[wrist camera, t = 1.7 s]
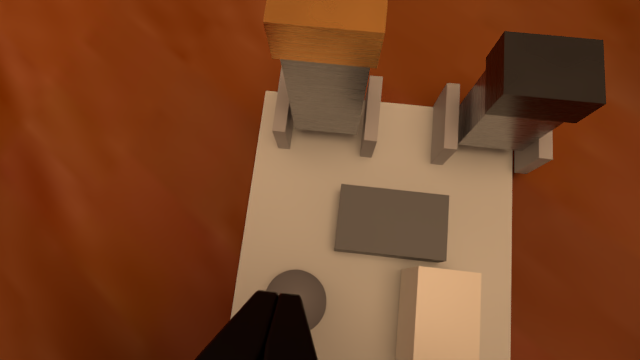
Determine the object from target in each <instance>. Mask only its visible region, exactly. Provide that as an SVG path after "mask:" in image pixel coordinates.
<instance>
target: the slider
mask: <svg viewBox="0 0 640 360" xmlns="http://www.w3.org/2000/svg"><path fill="white" fill-rule="evenodd" d="M480 312H481V273H475V272H467V271H458V270H449V269H440V268H432V267H423V266H416V267H411V268H406V269H401V282H400V297H399V312H398V326H397V341H396V355H395V359H396V360H479V350H480Z"/></svg>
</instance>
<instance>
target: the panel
mask: <svg viewBox="0 0 640 360" xmlns="http://www.w3.org/2000/svg"><path fill="white" fill-rule="evenodd" d="M382 80H383V77H379V76H370V78H369V83H368V88H367V93H366V98H365V100H364V101H363V106H362V111H361V116H360V121H359V126H358V131H357V135H352V134H342V133H332V132H322V131H312V130H302V129H295V127H294V122H293V117H292V112H291V108H290V103H289V98H288V93H287V89H286V84H285V79H284V75H283V70H282V67H281V73H280V80H279V87H278V92H274V91H266V93H265V100H264V106H263V113H262V119H261V125H260V132H259V138H258V145H257V151H256V158H255V164H254V171H253V177H252V184H251V190H250V196H249V203H248V209H247V216H246V222H245V229H244V235H243V242H242V248H241V255H240V261H239V268H238V274H237V280H236V287H235V293H234V300H233V306H232V313H231V319H232V317H233V316H234V315H235V314H236V313H237V312H238V311H239V310H240V309H241V307H242V306H243V305H244V304H245V303H246V302H247V301H248V300H249V299H250V297H251V296H252V295H253V294H254V293H255V292H256V291H258V290H266V291H274V292H277V293H278V294H280V293H291V294H298V295H300V296H301V298H302V301H303V305H304V309H305V313H306V316H307V320H308V324H309V328H310V331H311V335H312V339H313V343H314V347H315V350H316V354H317V358H318V360H396V359H395V355H396V341H397V326H398V312H399V297H400V282H401V269H406V268H411V267H416V266H423V267H432V268H440V269H449V270H458V271H467V272H475V273H481V312H480V350H479V360H510V346H511V248H512V151H513V150H506V149H497V148H487V147H477V146H467V145H458V123H459V99H460V84H453V83H447V84H446V86H445V87H444V89H443V91H442V92H441V94H440V96H439V97H438V99H437V101H436V102H435V104H434V107H426V106H416V105H406V104H396V103H386V102H381V91H382ZM552 159H553V142H552V131H550V132H549V133H547V134H546V135H544V136H543V137H541V138H540V139H539V140H537V141H536V142H534V143H533V144H531V145H530V146H528V147H527V148H525V149H524V150H522V151H516V150H514V173H523V174H527V173H529V172H531V171H532V170H534V169H536V168H538V167H540V166H541V165H543V164H545V163H547V162H549V161H551V160H552ZM231 319H230V320H231Z"/></svg>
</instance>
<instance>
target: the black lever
mask: <svg viewBox="0 0 640 360" xmlns="http://www.w3.org/2000/svg"><path fill="white" fill-rule="evenodd" d="M605 104H606V93H605V70H604V47H603V40H596V39H585V38H574V37H563V36H551V35H540V34H529V33H518V32H507V31H504V33H503V34H502V36H501V37H500V39H499V40H498V41H497V43H496V44H495V46H494V47H493V48H492V50H491V51H490V53H489V54H488V56H487V57H486V70H485V72H484V73H483V74H482V76H481V77H480V78H479V80H478V81H477V82H476V84H475V85H474V87H473V88H472V89H471V91H470V92H469V93H468V95H467V96H466V97H465V99H464V100H463V101H462V103H461V104H460V105H459V123H458V145H467V146H477V147H487V148H497V149H506V150H516V151H522V150H524V149H525V148H527V147H528V146H530V145H531V144H533V143H534V142H536V141H537V140H539V139H540V138H541V137H543V136H544V135H546V134H547V133H549V132H550V131H552V130H553V129H555V128H556V127H558V126H559V125H560V124H562V123H563V122H568V123H577V122H579V121H580V120H582V119H583V118H585V117H586V116H588V115H589V114H591V113H593V112H594V111H596V110H597V109H599V108H600V107H602V106H603V105H605Z"/></svg>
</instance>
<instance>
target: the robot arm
mask: <svg viewBox="0 0 640 360" xmlns="http://www.w3.org/2000/svg"><path fill="white" fill-rule="evenodd" d="M195 360H318V358H317V354H316V350H315V347H314V343H313V339H312V335H311V331H310V328H309V324H308V320H307V316H306V313H305V309H304V305H303V301H302V298H301V296H300V295H298V294H291V293H280V294H278V293H277V292H274V291H266V290H258V291H256V292H255V293H254V294H253V295H252V296H251V297H250V299H249V300H248V301H247V302H246V303H245V304H244V305H243V306H242V307H241V309H240V310H239V311H238V312H237V313H236V314H235V315H234V316H233V317H232V319H231V320H230V321H229V322H228V323H227V324H226V325H225V326H224V327H223V329H222V330H221V331H220V332H219V333H218V334H217V335H216V336H215V337H214V339H213V340H212V341H211V342H210V343H209V344H208V345H207V346H206V347H205V349H204V350H203V351H202V352H201V353H200V354H199V355H198V356H197V357H196V359H195Z"/></svg>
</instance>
